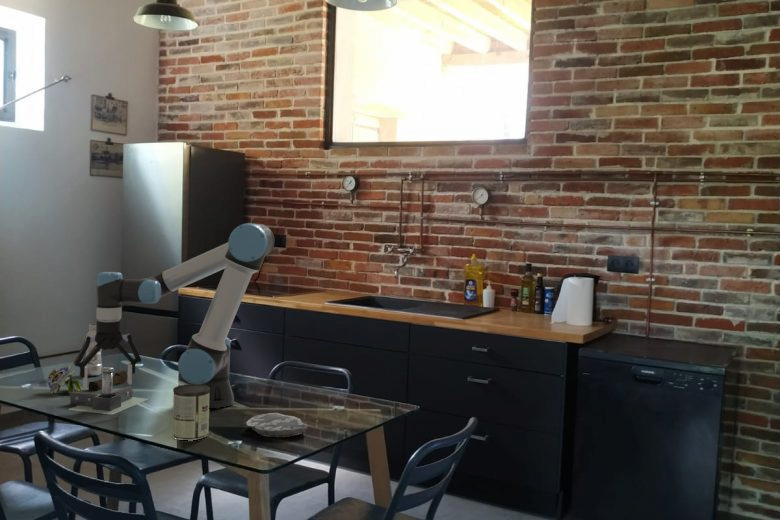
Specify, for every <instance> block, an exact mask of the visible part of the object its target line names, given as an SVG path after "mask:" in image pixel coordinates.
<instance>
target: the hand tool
mask: <svg viewBox="0 0 780 520" xmlns="http://www.w3.org/2000/svg"><path fill="white" fill-rule="evenodd" d="M127 382H128V371H127V370H121V371H117V372H114V374H113V383H112V386H115V385H117V384H121V385H122V384H125V383H127ZM88 390H89V391H95V392H98V391H101V390H102V378H101V379H98V380H94V381H89V383H88Z"/></svg>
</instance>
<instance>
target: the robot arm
mask: <svg viewBox="0 0 780 520" xmlns="http://www.w3.org/2000/svg"><path fill="white" fill-rule="evenodd" d="M274 246H275V235H274V234H273V231H272V230H271V229H270V228H269V227H268V226H266V225H265V224H263V223H257V222H256V223H253V222H247V223H246V222H245V223H242V224H240V225H238V226H237V227H235V228H234V229H233V230H232V231H231V233H230V234H229V237H228V241H227V242H226V243H223V244H221V245H219V246H217V247H215V248H213V249H210V250H208V251H206V252H203V253H202V254H199V255H197V256H195V257H191V258H190V259H188V260H186V261H184V262H182V263H180V264H179V263H178V264H177V265H175V266H172V267H171V268H168V269H166V270H163V271H162V272H160V273H157V274H155V275H152V276H149V277H146V278H141V279H129V278H128V279H127V278H123V274H122V273H121V272H119V271H118V272H117V271H102V272H100V273H98V275H97V280H96V281H97V282H96V316H95V318H96V320H97V321H96V322H95V324H96V335H95V337H91V336H88V335H87V334H86V335H87V336H86V335H85V336H86V337H84V342H83V344H82V347H81V348H80V351H78V354H77V355H76V358H75V360H74V362H73V365H74V366H75V367H78V368H79V376H80V379H82V378H83V379H82V387H83V388H84V389H88V375H87V370H88V368H87V367H86V365H87V364H88V363H89V362H90V360H91V359H92V358H93V357H94V356H95V355H96V354H97V352H98V351H100V350H101V348H102V350H105V351H106V350H115V349H116V348H117V349H118V350H119V352H121V354H122V355H123V356H124V357H125V358H126V359H127V360H128V361H129V362H128V363H127V375H128V380H127V382H126V383H127V384H128V385H129V386H131V385H133V381H132V380H133V375H135V374H136V364H137V363H141V362H142V357H141V355H140V354H139V352H138V350H137V349H136V346H135V344H134V342H133V338H132V334H130V333H126V334H122V321H121V319H122V313H123V312H122V306H123V305H122V304H123V303H130V304H131V303H133V304H145V305H149V304H157V303H158V302H159V300H161V298H163V297H166V296H167V295H169V294H171V293H174V292H175V291H177V290H179V289H182V288H184V287H186V286H188V285H191V284H194V283H195V282H198V281H200V280H202V279H204V278H206V277H208V276H211V275H213V274H215V273H218V272H220V271H222V270H224V271H223V273H222V275H221V278H220V280H219V283H218V285H217V287H216V289H215V291H214V295H213V298H212V300H211V302H210V304H209V307H208V310H207V312H206V313H205V317H204V320H203V321H202V325H201V327H200V329H199V332H198V333H195V334H193V335H192V336H191V339H190V341H189V343H188V345H187V348H186V350H185V351H184V352H183V353H182V354H181V355H180V357H179V359H178V362H177V366H178V368H177V369H178V372H179V374H180V376H181V378H182V379H184V381H186V382H187V383H188V384H199V385H206V386H208V387H210V394H209V408H216V409H221V408H220V407H224V408H227V407H226V406H228V407H230V405H231V406H232V405H234V403H235V401H234V400H235V395H234V392H233V389H232V386H231V383H230V364H231V363H230V362H231V339H230V338H229V337H228V335H229V332H230V329H231V327H232V325H233V322H234V320H235V317H236V315H237V313H238V310H239V308H240V305H241V303H242V300H243V298H244V296H245V293H246V291H247V288H248V286H249V284H250V281H251V278H252V276H253V274H255V273H257V272H259V271H260V269H261V267H262V265H263V262H264V260H265V257H267V256H268V255H269V254H270V253H271V252H272V251H273V249H274ZM94 340H95V341H96V343H97V344H96V345H95V347H94V348H93V349H92V351H91V352H90V353H89V354H88V355H87V356H86V351H87V349H88V347H89V345H90V343H92V342H93V341H94ZM123 340H124V341H125V342H126V343H127V345H128V347H129V349H130V351H131V353H132V355H133V356H134V358H133V357H132V356H131V354H129V353H128V351H126V349H125V348H124V347H123V346H122V345H121V344H120V343H121V342H122V341H123ZM102 350H101V351H102Z"/></svg>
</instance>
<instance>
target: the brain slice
mask: <svg viewBox="0 0 780 520" xmlns="http://www.w3.org/2000/svg"><path fill="white" fill-rule="evenodd" d="M245 424H246V426H247V427H249V428H251V429H252V431H253V430H254V431H256V432H257V433H258V434H257V433H256V434H257V435H259V434H268V435H290V434H298V433H302V432H305V433H306V432H307V430H308V427H309V425H308V424H306V423H305V422H303V421H302V420H301V418H299V417H296V416H293V415H286V414H282V413H279V412H269V413H268V412H267V413H262V414H258V415H257V414H256V415H253V416H252V417H250V419H248V420H246V422H245ZM254 431H253V432H254Z"/></svg>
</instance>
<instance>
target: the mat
mask: <svg viewBox="0 0 780 520" xmlns="http://www.w3.org/2000/svg"><path fill="white" fill-rule="evenodd" d="M147 400H149V398H146V397H145V398H143V397H134V396H132V398H131V399H128V400H126V401H123V402H121V407H119V408H117V409H114V410H112V411H103V410H93V407H88V406H79V405H75V406H74V407H70V408H68V411H77V412H86V413H94V414H95V413H96V414H101V415H103V414H104V415H112V416H113V415H115V414H118V413H119V412H122V411H124V410H127V409H130V408H131V407H134V406H136V405H138V404H141V403H143V402H146V401H147Z"/></svg>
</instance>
